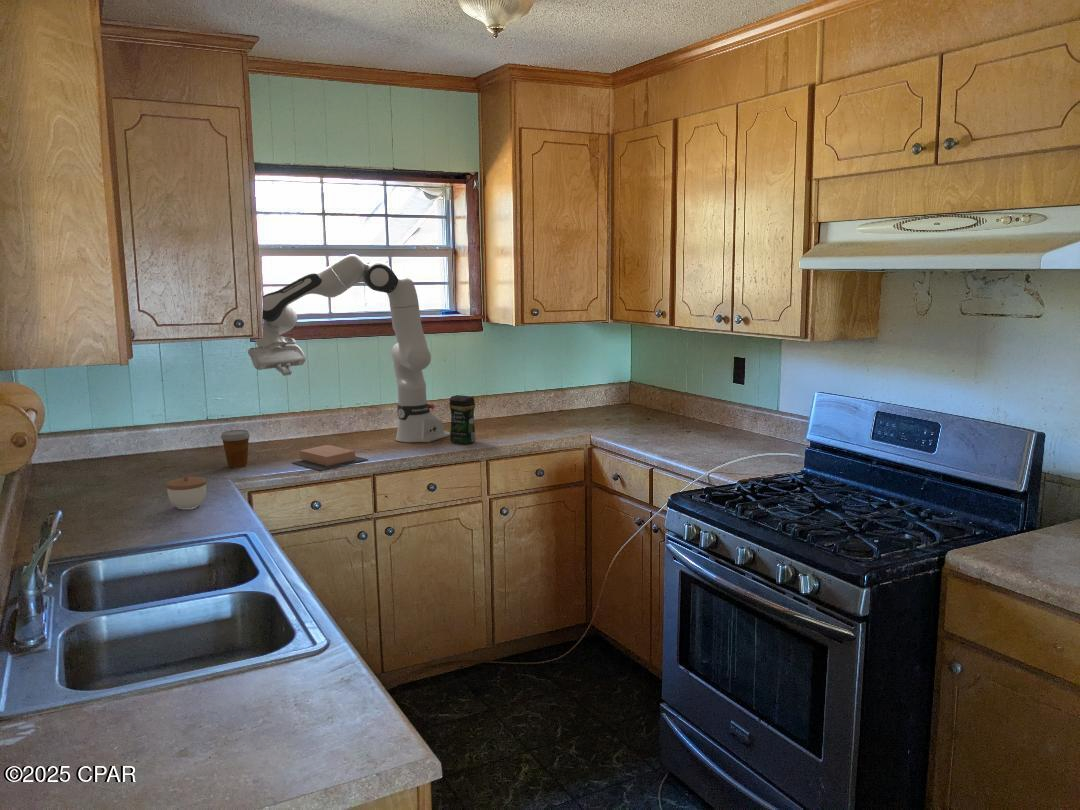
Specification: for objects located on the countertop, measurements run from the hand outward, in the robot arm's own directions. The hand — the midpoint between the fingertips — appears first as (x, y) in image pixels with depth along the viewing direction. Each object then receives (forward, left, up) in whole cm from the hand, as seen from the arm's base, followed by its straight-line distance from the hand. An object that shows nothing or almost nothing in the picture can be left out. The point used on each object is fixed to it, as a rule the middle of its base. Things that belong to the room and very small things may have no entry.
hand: (287, 374), depth 305 cm
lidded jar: (+59, +38, -30) cm, 76 cm away
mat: (0, +24, -29) cm, 38 cm away
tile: (0, +14, -27) cm, 30 cm away
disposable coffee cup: (+24, +3, -30) cm, 38 cm away
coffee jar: (-52, +37, -30) cm, 71 cm away
